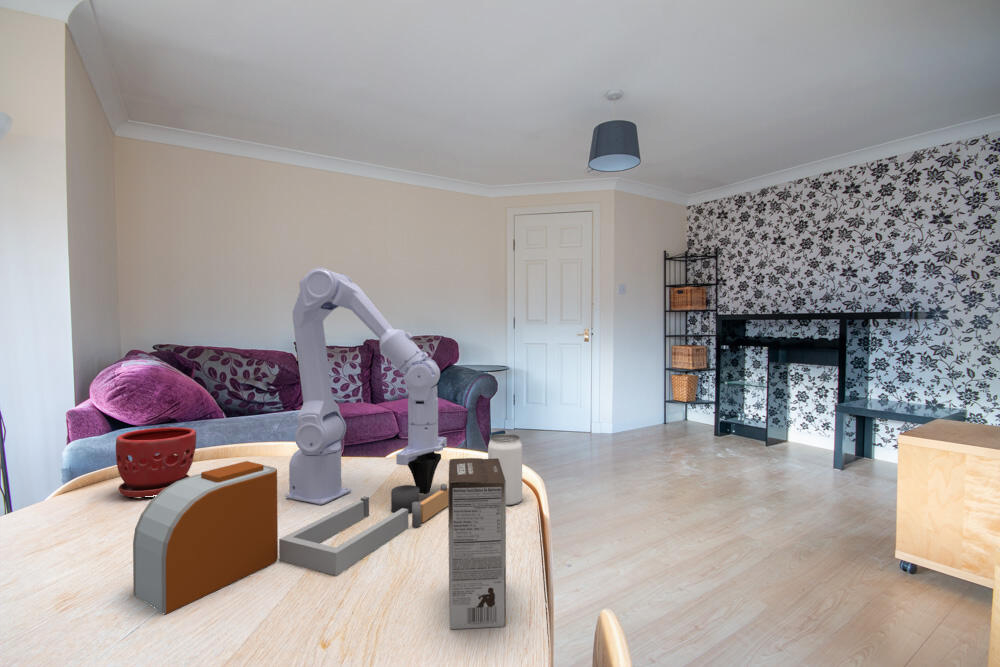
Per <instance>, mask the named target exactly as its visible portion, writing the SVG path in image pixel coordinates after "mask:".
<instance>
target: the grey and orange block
mask: <svg viewBox="0 0 1000 667" xmlns="http://www.w3.org/2000/svg"><path fill="white" fill-rule="evenodd" d="M189 476H190V475H189ZM278 524H279V523H278V469H277V468H276V467H273V466H269V465H265V464H261V463H256V462H252V461H248V460H245V461H241V462H238V463H233V464H230V465H226V466H222V467H219V468H213V469H209V470H206V471H202V472H200V473H199V474H194V475H191V476H190V477H187V478H184V479H182V480H179V481H176V482H175V483H173V484H171V485H170V486H168V487H167V488H165V489H163V490H162V491H161V492H160V493H159V494H158V495H157V496H156V497H152V499H151V500H150V501H149V502H148V504H147V505H146V506H145V508H144V510H143V511H142V512H141V514H140V516H139V518H138V521H137V523H136V526H135V528H134V533H133V540H132V558H133V561H132V573H133V574H132V575H133V576H132V577H133V578H132V579H133V582H132V584H133V587H132V588H133V596H134V597H135V598H137V599H139V600H141V601H142V600H143V601H142V602H144V601H145V602H147V603H148V604H147V603H146V604H147V605H149V604H150V605H152V606H153V607H155V608H156V609H155V608H154V609H155V610H157V611H158V610H159V611H158V612H159V613H161V612H162V613H161V614H163V613H164V614H163V615H168V614H170V613H171V612H174V611H176V610H179V609H180V608H182V607H184V606H187V605H188V604H191V603H193V602H195V601H197V600H199V599H201V598H203V597H205V596H208V595H211V594H212V593H215V592H216V591H218V590H221V589H222V588H223V589H224V588H225V587H226V586H229V585H231V584H233V583H235V582H238V581H239V580H243V579H244V578H247V577H249V576H250V575H252V574H255V573H256V572H259V571H261V570H263V569H265V568H267V567H270V566H271V565H273V564H275V562H277V561H278V559H279V558H278V557H279V556H278V555H279V553H278V552H279V550H278V549H279V543H278V542H279V538H278V535H279V534H278V533H279V532H278ZM145 602H144V603H145ZM150 605H149V606H150ZM152 606H151V607H152ZM153 607H152V608H153Z"/></svg>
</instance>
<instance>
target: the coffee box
mask: <svg viewBox="0 0 1000 667" xmlns="http://www.w3.org/2000/svg"><path fill="white" fill-rule="evenodd" d="M448 462H449V464H448V488H449V490H448V502H449V505H448V594H449V596H448V597H449V598H448V599H449V605H448V608H449V609H448V610H449V629H450V630H462V629H463V630H464V629H482V628H484V629H485V628H499V627H500V628H502V627H506V625H507V618H506V617H507V616H506V615H507V611H506V610H507V609H506V608H507V606H506V603H507V602H506V601H507V600H506V599H507V597H506V596H507V594H506V593H507V584H506V583H507V582H506V581H507V579H506V578H507V573H506V572H507V571H506V570H507V568H506V567H507V551H506V550H507V530H506V529H507V511H506V510H507V508H506V507H507V506H506V481H505V477H504V474H503V471H502V468H501V465H500V462H499V459H498V458H495V459H488V458H481V457H475V458H474V457H467V458H466V457H464V458H450V459H449V461H448Z"/></svg>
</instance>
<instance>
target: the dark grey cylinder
mask: <svg viewBox="0 0 1000 667" xmlns="http://www.w3.org/2000/svg"><path fill="white" fill-rule="evenodd" d="M390 493H391V494H390V495H391V498H390V499H391V512H392V514H393V513H395V512H397V511H398V510H400V509H402V508H404V509H408V515H410V514H411V515H412V503H413V502H420V493H419V487H417V486H416V485H412V484H411V485H410V484H405V485H398V486H396V487H393V488H392V489H391V492H390Z"/></svg>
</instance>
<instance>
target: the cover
mask: <svg viewBox="0 0 1000 667" xmlns="http://www.w3.org/2000/svg"><path fill="white" fill-rule="evenodd" d="M448 490H449V487H448V484H440V489H439V490H438V491H437V492H435V493H434V494H432V495H430V496H428V497H427V498H425V499H423V500H422V501H419V502H413V503H412V513H411V520H412V521H411V524H412V525H411V526H412V527H415V528H416V527H420V526H421V525H422V523H424V522H426V521H428V520H429V519H430V518H432V517H433V516H435V515H436V514H438V513H440V512H441V511H442V510H444V509H445V508H447V507H449V502H448Z"/></svg>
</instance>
